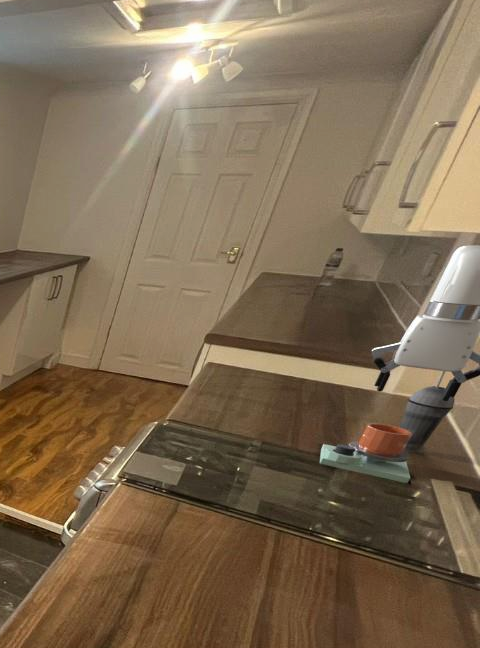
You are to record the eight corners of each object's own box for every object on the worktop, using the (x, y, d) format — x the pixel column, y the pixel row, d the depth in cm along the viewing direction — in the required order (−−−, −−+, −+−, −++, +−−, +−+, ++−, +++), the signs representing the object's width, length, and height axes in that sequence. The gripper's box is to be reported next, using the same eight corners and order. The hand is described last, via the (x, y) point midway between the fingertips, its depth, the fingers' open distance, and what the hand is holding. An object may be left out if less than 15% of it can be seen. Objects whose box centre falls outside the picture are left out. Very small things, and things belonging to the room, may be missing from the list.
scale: (403, 467, 129) (410, 454, 128) (407, 484, 121) (414, 471, 120) (320, 449, 138) (326, 437, 136) (319, 464, 129) (325, 452, 128)
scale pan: (398, 465, 130) (407, 450, 128) (401, 478, 123) (410, 462, 122) (341, 453, 136) (349, 438, 134) (341, 465, 129) (349, 449, 128)
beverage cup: (397, 453, 137) (443, 370, 128) (376, 442, 143) (418, 362, 134) (434, 457, 135) (483, 373, 126) (411, 445, 142) (456, 365, 133)
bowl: (399, 450, 128) (410, 429, 126) (401, 459, 124) (413, 437, 121) (356, 441, 132) (367, 420, 130) (356, 449, 128) (367, 428, 126)
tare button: (351, 453, 128) (355, 446, 128) (352, 457, 126) (355, 450, 126) (334, 450, 130) (337, 442, 130) (333, 453, 128) (337, 446, 128)
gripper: (515, 315, 112) (468, 399, 120) (390, 305, 123) (354, 383, 130) (523, 320, 107) (474, 408, 115) (393, 309, 118) (355, 390, 125)
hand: (410, 394), depth 122 cm, fingers open, 9 cm apart
